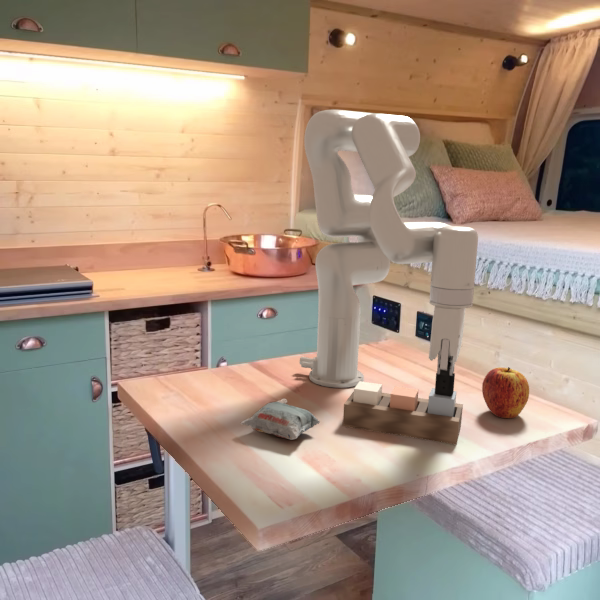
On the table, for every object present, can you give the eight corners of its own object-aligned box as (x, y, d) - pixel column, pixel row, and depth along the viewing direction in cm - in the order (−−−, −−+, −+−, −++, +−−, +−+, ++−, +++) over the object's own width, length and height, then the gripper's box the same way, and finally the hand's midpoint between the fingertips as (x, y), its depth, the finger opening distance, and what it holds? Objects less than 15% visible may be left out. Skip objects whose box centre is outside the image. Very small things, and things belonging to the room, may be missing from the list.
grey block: (426, 421, 113) (428, 395, 112) (430, 412, 117) (432, 388, 116) (451, 425, 111) (454, 399, 110) (454, 416, 116) (456, 391, 115)
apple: (470, 409, 127) (474, 362, 125) (504, 404, 130) (509, 358, 128) (500, 426, 119) (505, 377, 116) (536, 420, 122) (542, 372, 120)
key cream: (352, 413, 117) (354, 388, 116) (358, 405, 122) (359, 381, 121) (375, 417, 116) (377, 392, 115) (380, 408, 120) (382, 384, 119)
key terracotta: (388, 419, 115) (390, 393, 114) (393, 410, 119) (395, 386, 118) (413, 423, 114) (414, 397, 113) (416, 414, 118) (418, 389, 117)
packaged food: (296, 450, 105) (298, 423, 104) (239, 432, 111) (240, 407, 110) (320, 433, 113) (321, 407, 112) (265, 417, 118) (266, 393, 117)
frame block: (342, 426, 116) (343, 404, 115) (354, 409, 125) (355, 388, 124) (456, 445, 110) (458, 421, 109) (460, 426, 118) (462, 404, 117)
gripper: (435, 287, 117) (428, 379, 121) (424, 302, 104) (417, 405, 107) (475, 291, 115) (468, 384, 119) (470, 306, 101) (461, 411, 105)
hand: (444, 393), depth 113 cm, fingers closed, pressing on grey block
